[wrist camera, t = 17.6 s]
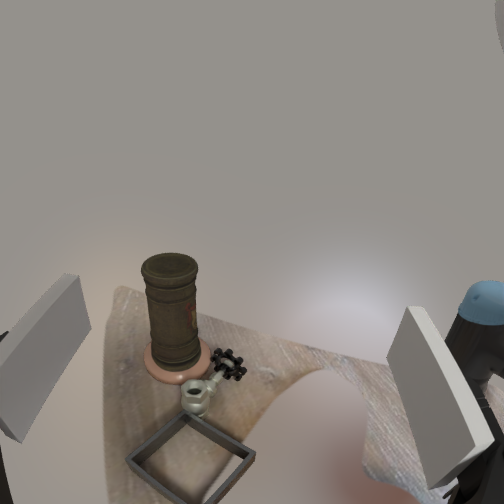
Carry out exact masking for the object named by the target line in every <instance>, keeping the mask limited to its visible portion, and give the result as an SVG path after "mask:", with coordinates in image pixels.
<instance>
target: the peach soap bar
mask: <svg viewBox="0 0 504 504" xmlns="http://www.w3.org/2000/svg"><path fill="white" fill-rule="evenodd" d="M198 338H199V337H198ZM199 340H200V346H201V357H200V359H199V361H198V362H197V363H196V364H195V365H194V366H193V367H191V368H190V369H188V370H185V371H180V372H169V371H165V370H163V369H161V368H160V367H158V366H157V365H156V363H155V362H154V360H153V359H152V355H151V342H152V341H151V342H150V343H149V344H148V345H147V347H146V349H145V351H144V362H145V366H146V369H147V371H148V372H149V374H150V375H151V376H152V377H154V378H155V379H157V380H158V381H161V382H163V383H167V384H173V385H182V384H184V383H185V382H186V381H187V380H189V379H197V380H198V379H200V378H201V377H202V376H204V375H205V374H206V372H207V371H208V369H209V367H210V364H211V361H210V357H211V352H210V349H209V347H208V345H207V344H206V343H205V342H204V341H203V340H202V339H200V338H199Z"/></svg>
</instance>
